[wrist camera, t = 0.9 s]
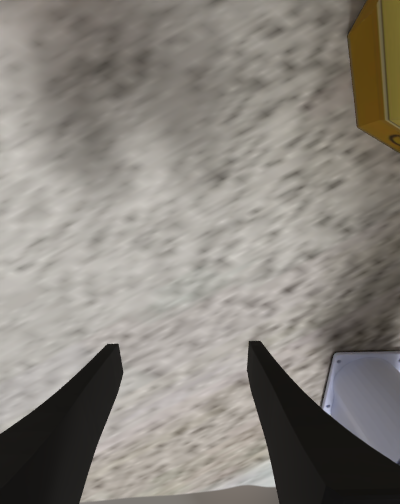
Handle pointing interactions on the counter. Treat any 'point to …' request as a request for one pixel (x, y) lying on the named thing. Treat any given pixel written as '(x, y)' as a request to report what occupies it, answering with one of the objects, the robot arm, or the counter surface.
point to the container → (377, 70)
